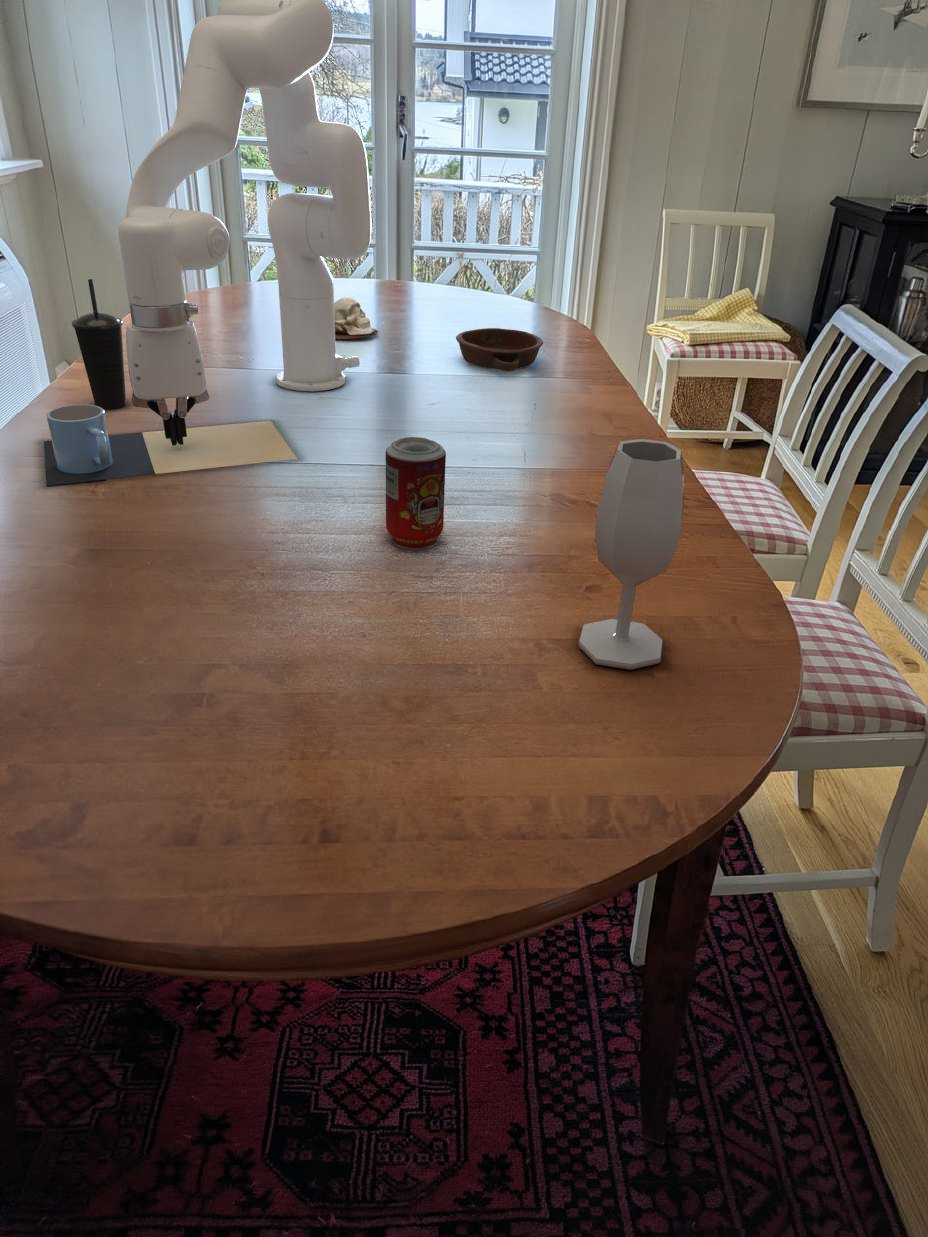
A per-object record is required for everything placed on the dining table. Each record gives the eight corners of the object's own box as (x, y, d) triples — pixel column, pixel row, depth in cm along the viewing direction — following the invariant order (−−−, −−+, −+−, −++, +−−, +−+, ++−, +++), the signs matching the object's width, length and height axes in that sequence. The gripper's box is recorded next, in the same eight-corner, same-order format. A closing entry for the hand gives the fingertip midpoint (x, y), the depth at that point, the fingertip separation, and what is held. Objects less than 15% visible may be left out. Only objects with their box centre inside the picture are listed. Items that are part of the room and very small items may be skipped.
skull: (391, 327, 201) (373, 297, 191) (371, 366, 199) (352, 337, 189) (348, 317, 206) (328, 287, 196) (327, 355, 203) (306, 326, 194)
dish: (461, 378, 173) (461, 351, 170) (450, 348, 192) (450, 324, 189) (550, 378, 175) (553, 352, 172) (531, 349, 194) (533, 325, 191)
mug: (47, 463, 128) (36, 411, 124) (97, 451, 133) (88, 400, 129) (83, 484, 122) (73, 430, 118) (134, 471, 126) (125, 419, 123)
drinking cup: (120, 414, 148) (99, 285, 137) (77, 409, 149) (53, 282, 139) (143, 400, 154) (125, 276, 144) (102, 396, 155) (81, 273, 145)
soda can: (411, 557, 107) (411, 459, 101) (374, 537, 112) (373, 441, 105) (455, 541, 111) (458, 446, 105) (418, 522, 116) (419, 430, 110)
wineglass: (569, 626, 95) (591, 433, 84) (650, 625, 96) (682, 433, 85) (586, 673, 88) (612, 467, 77) (674, 671, 88) (712, 468, 78)
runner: (270, 421, 147) (270, 420, 147) (297, 459, 133) (297, 458, 133) (44, 442, 135) (43, 441, 135) (46, 486, 121) (46, 485, 121)
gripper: (210, 306, 130) (223, 429, 140) (100, 311, 125) (121, 438, 135) (219, 317, 124) (232, 445, 134) (103, 324, 119) (125, 456, 129)
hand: (176, 441), depth 134 cm, fingers closed
